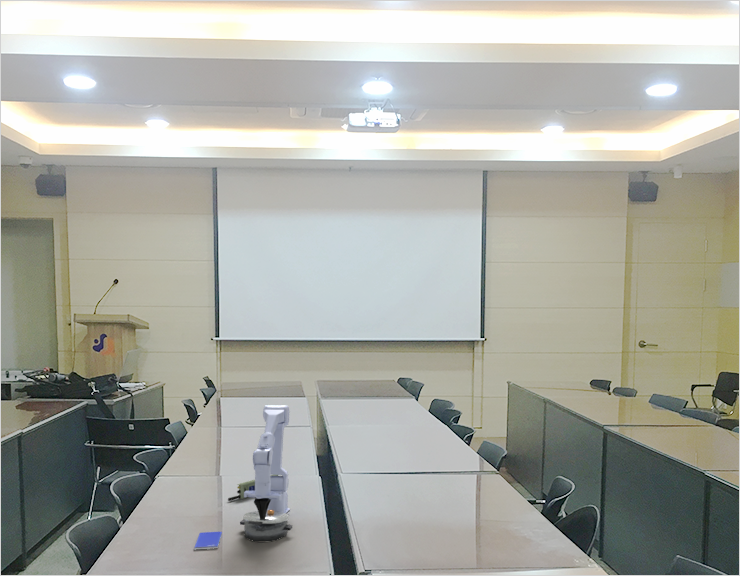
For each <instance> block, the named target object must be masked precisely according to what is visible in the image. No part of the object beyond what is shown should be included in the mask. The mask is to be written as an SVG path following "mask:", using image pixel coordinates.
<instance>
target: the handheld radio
mask: <svg viewBox="0 0 740 576" xmlns="http://www.w3.org/2000/svg"><path fill="white" fill-rule="evenodd" d="M270 476H279V475H270ZM236 485H237V489H238V490H237V491H236V493H237V494H238V495H235V496H231V497H228V499H227V501H228V502H230V501H231V502H232V501H235V500H237V499H240V500H244V499H248V498H249V497H244V492H245V491H255V479H251V480H247V481H244V482H240V483H237V484H236Z"/></svg>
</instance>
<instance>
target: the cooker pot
mask: <svg viewBox="0 0 740 576" xmlns="http://www.w3.org/2000/svg"><path fill="white" fill-rule="evenodd" d="M239 524H240V525H241V526H244V534H245V535H244V537H245V539H247V538H248V539H250V540H249V541H251V540H253V541H252V542H255V541H271V542H273V541H272V540H275V541H278V540H280V539H279V538H281V537H283V536H284V537H286V536H287V534H288V531H291V530H292V529H293V524H292V525H291V524H288V520H287V521H285V522H282V523H276V524H262V525H256V524H248V522H247V521H245V520H244V519H241V520H240V522H239ZM284 537H283V538H284ZM248 539H247V540H248ZM277 539H278V540H277ZM281 539H282V538H281Z"/></svg>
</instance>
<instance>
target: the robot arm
mask: <svg viewBox="0 0 740 576" xmlns="http://www.w3.org/2000/svg"><path fill="white" fill-rule="evenodd" d="M262 416H263V420H264V422H265V427H264V433H261V435H260V436H259V437H260V438H259V440H258V445H257V448H256V450H254V451H253V453H252V465H253V470H254V480H255V491H245V492H244V497H248V498H254V500H253V504H254V505H255V506H256V509H257V511H258V512H259V516H260V518H261V519H264V518H265V517H266V512H267V511H268V510H274V511H277V512H283V513H286V514H288V512H289V511H290V510H291V508H290V507H288V505H289V503H288V502H289V498H288V497H289V495H288V492H287V491H288V488H289V481H290V480H289V473H288V471H287V470H286V469H285V468H284V467H283V451H284V450H283V449H284V430H285V427H287V426H288V425H289V422H290V407H289V405H288V404H285V405H283V404H282V405H281V404H280V405H277V404H275V405H274V404H270V405H269V404H265V405H264V407H263V411H262ZM270 475H278V476H270Z"/></svg>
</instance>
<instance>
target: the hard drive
mask: <svg viewBox="0 0 740 576" xmlns="http://www.w3.org/2000/svg"><path fill="white" fill-rule="evenodd" d="M222 535H223V532H222V531H207V532H206V531H205V532H199V534H198V537H197V539H196V542H195V545H194V547H193V550H194V551H197V550H196V549H207V550H211V549H210V548H213V549H212V550H215V549H214V548H218V549H219V546H218V545H220V543H219V542H221V539H220V538H222Z"/></svg>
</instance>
